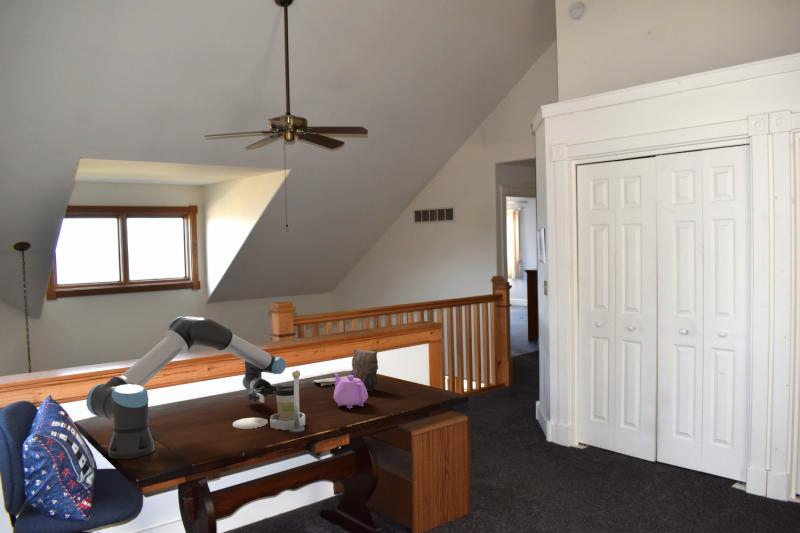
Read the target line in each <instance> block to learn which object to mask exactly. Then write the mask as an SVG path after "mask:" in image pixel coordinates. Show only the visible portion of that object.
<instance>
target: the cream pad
mask: <svg viewBox="0 0 800 533" xmlns="http://www.w3.org/2000/svg"><path fill="white" fill-rule="evenodd" d="M268 423H269V422H268V419H266V418H263V417H246V418H241V419H238V420H235V421H234V422H232V427H233V428H235V429H239V430H251V429H253V428H254V429H257V428H258V427H259V428H261V427H262V426H263V427H264V426H266V424H267V425H268Z"/></svg>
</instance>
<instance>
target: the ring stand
mask: <svg viewBox="0 0 800 533" xmlns="http://www.w3.org/2000/svg"><path fill="white" fill-rule="evenodd" d="M291 373H292V374H291V375H292V377H293V386H294V420H285V421H283V420H279V415H278V412H276V413H272V415H270V417H269V423H270V424H269V425H270V428H271V429H273V428H274V429H273V430H278V429H281V430H282V431H286V430H287V431H289V432H290V433H293V434H296V433H298V432H299V433H303V432H305V426H306V414H305V413H303V412H301V411H300V384H299V383H300V376H301V372H300V370H297V369H295V370H293V371H292V372H291ZM281 430H280V431H281Z"/></svg>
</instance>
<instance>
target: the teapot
mask: <svg viewBox="0 0 800 533" xmlns="http://www.w3.org/2000/svg"><path fill="white" fill-rule="evenodd" d="M333 375H334V376H335V377H336V383H335V384H334V387H335V388H334V391H333V399H334V400H333V401H335V403H337V407H343V406H346V409H347V408H349V409H348V410H351V409H350V408H353V409H354V406H358V407H364V406H365V405H364V403H366V401H367V400H368V398H369V394H368V393H369V392H367V389H366V387H365V385H364V384H363V382H362V381H361V380H360V379H359V378H354V376H353V375H351V374H349V375H346V376H347V378H344V379H341V380H340V377H341V376H340V375H339V374H338V373H336V372H333ZM335 377H334V378H335Z"/></svg>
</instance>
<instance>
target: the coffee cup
mask: <svg viewBox="0 0 800 533" xmlns="http://www.w3.org/2000/svg"><path fill="white" fill-rule="evenodd" d="M282 386H283V387H279V388H277V390H276V392H275V394H274V395H275V396H276V408H277V413H278V415H279V420H283V421H285V420H294V385H285V386H284V385H282Z"/></svg>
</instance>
